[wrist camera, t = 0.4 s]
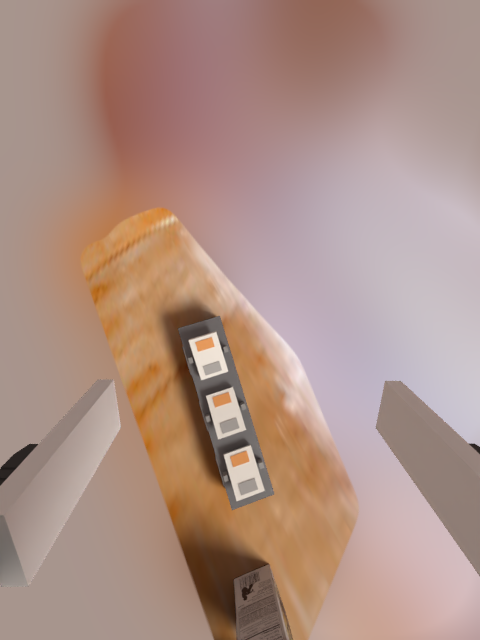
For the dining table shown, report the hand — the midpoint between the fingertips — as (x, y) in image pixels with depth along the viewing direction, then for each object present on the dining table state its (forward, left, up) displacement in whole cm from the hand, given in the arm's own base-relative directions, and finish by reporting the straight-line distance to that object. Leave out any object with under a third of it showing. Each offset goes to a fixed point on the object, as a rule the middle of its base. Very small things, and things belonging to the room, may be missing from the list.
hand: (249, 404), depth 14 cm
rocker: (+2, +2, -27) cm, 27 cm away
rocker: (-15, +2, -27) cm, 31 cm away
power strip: (-7, +2, -33) cm, 33 cm away
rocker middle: (-7, +2, -27) cm, 27 cm away
